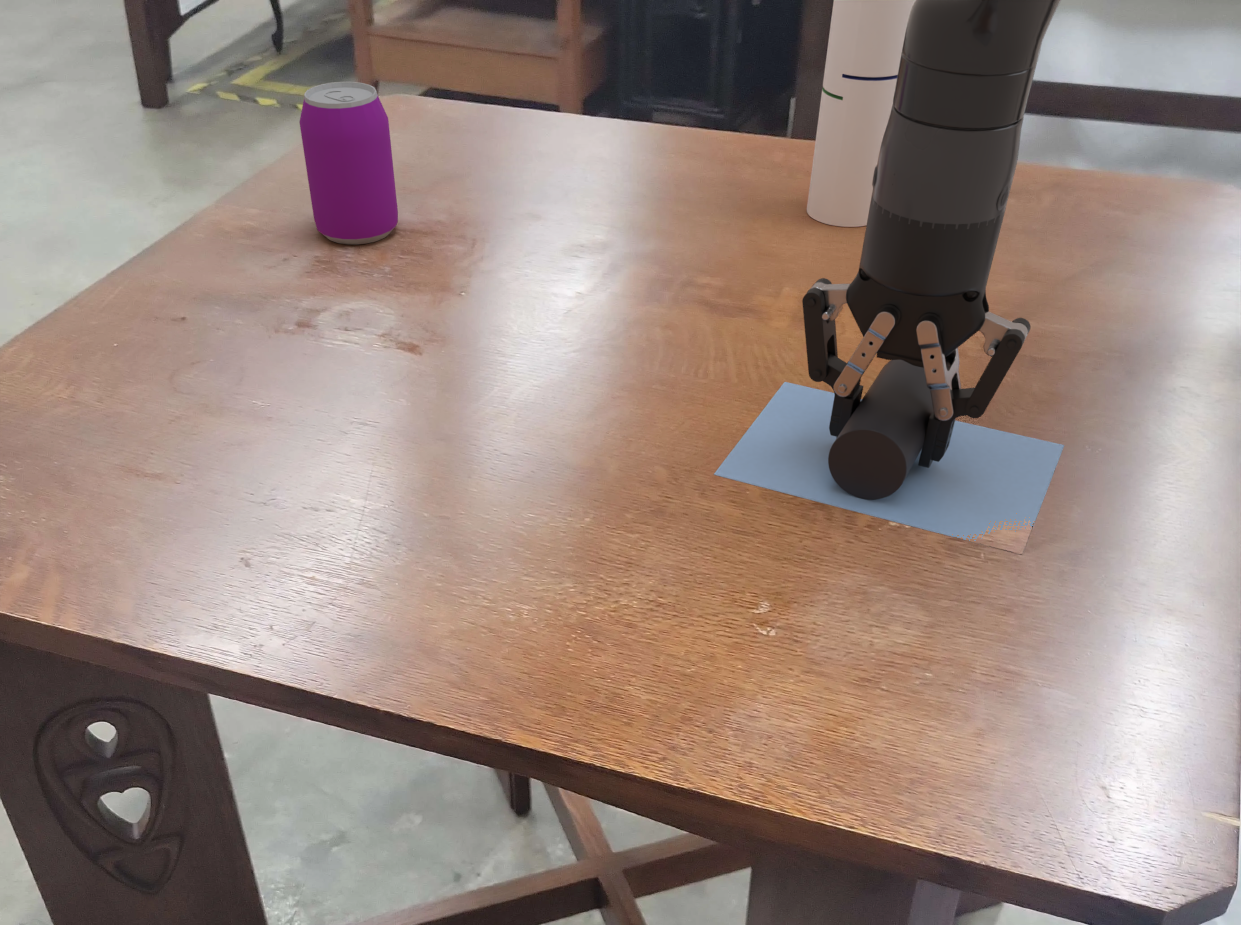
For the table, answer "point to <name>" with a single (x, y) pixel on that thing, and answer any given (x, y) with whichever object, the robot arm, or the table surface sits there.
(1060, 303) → the table surface
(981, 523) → the paper
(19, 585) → the table surface
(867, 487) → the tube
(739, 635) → the table surface
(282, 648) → the table surface
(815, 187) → the cylindrical container
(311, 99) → the beverage can
